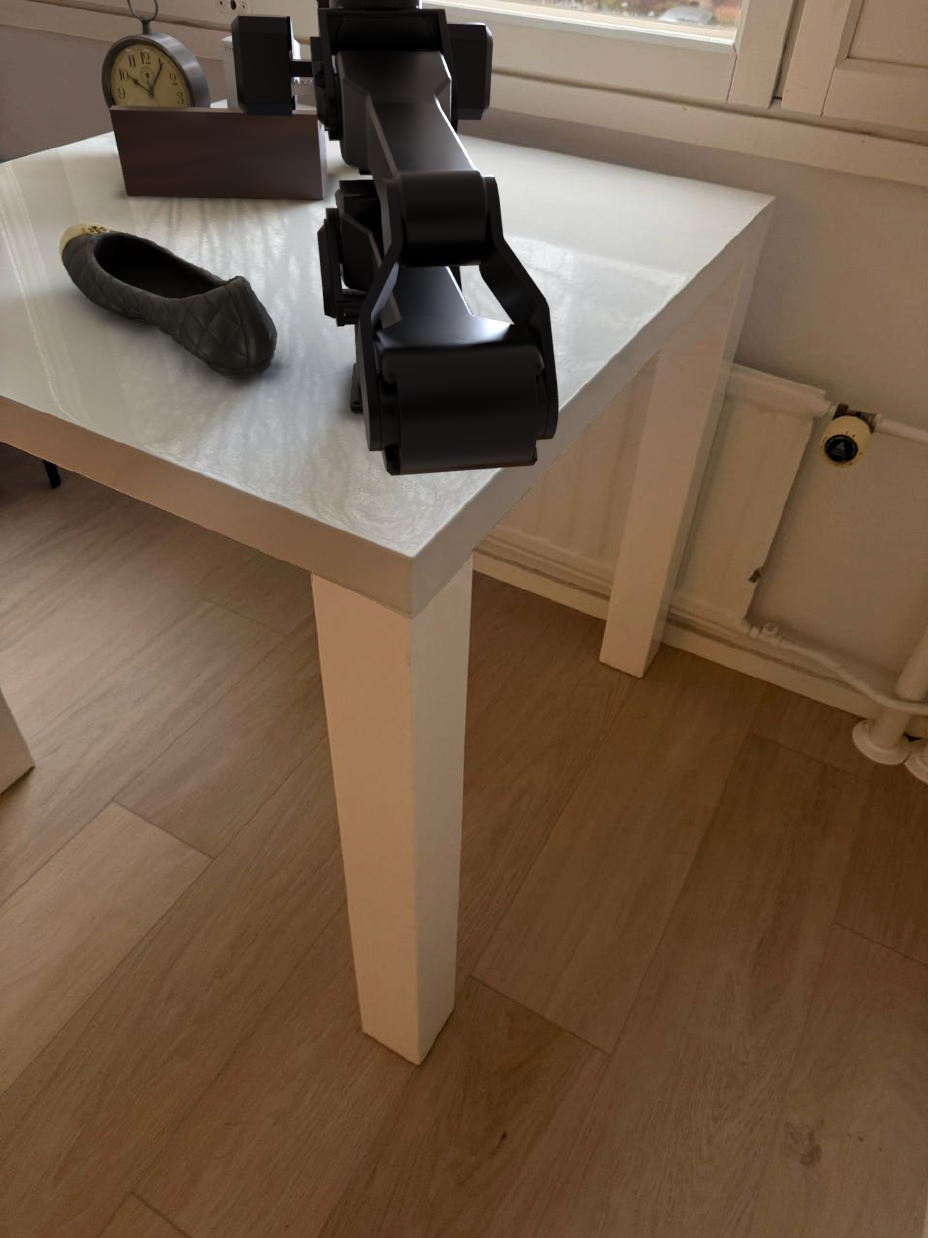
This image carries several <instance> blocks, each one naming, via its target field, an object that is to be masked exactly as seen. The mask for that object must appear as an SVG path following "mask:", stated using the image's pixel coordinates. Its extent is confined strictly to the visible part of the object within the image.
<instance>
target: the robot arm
mask: <svg viewBox="0 0 928 1238" xmlns="http://www.w3.org/2000/svg"><path fill="white" fill-rule="evenodd" d="M315 1H316V3H317V8H316V11H317V12H316V13H317V26H318V27H317V28H318V29H317V30H318V35H317V36H309V50H310V58H308V59H307V58H301V44H300V43H299V42H298V41H297V40H296V39H295V37H294V31H293V30H294V29H293V24H292V17H291V16H290V15H281V14H266V13H242V12H241V13H237V14H236V16H234V18H233V19H232V21H231V22H230V33H231V36H232V46H233V56H234V67H235V78H236V89H237V100H238V107H239V108H240V109H241V110H242V111H243V112H244V113H245V114H246V115H247V116H290V117H293V111H292V110H297V103H298V97H299V96H301V97H303V96H307V97H314V101H315V110H316V112H317V119H318V120H319V121H320V122H321V123H322V124H323V126H324V131H325V132H327V136H328V137H327V138H328V141H329V142H339V150H340V155H341V158H342V160H343V162H344V164H345V165H346V166H347V167H349V168H351V169H355V170H357V172H358V175H359V176H362V177H363V176H364V177H365V176H371V177H372V179H370V178H369V179H368V178H365V179H339V180H338V183H339V187H338V188H337V189H336V191H335V192H334V200H335V201H334V202H335V206H336V207H325V218H323V222H322V223H323V224H322V225H321V227H320V228H318V230H317V231H316V237H317V248H318V261H319V269H320V280H321V292H322V293H321V294H322V304H323V305H322V306H323V315H324V316H326V317H329V318H331V319H332V320H334V319H335V323H336V327H337V328H343V327H345V326H353V328H354V330H353V331H354V348H355V349H354V350H355V362H354V363H353V366H352V375H351V386H350V398H349V409H350V411H352V412H355V413H363V422H364V423H363V424H364V432H365V440H366V445H367V451H368V452H369V453H371V452H381V457H382V462H383V466H384V469H385V472H387V473H388V474H389V475H390V476H391V477H396V476H397V477H398V476H409V475H410V476H411V475H425V474H436V473H437V474H439V473H452V472H453V473H454V472H463V471H464V472H465V471H480V470H493V469H505V468H506V469H507V468H520V467H534V465H535V464H536V463H537V462H538V460H539V459H538V458H539V457H538V448H537V441H544V440H545V441H546V440H553V439H554V437H555V434H557V433H556V432H557V428H558V422H559V412H560V411H559V410H560V405H559V404H560V402H559V387H558V377H557V367H556V357H555V351H554V350H555V348H554V340H553V339H554V337H553V329H552V321H551V319H552V318H551V309H550V305H549V302H548V299H547V298H546V297H545V295H544V294H543V292H542V291H541V290H540V288H539V287H538V285H537V284H536V282H535V281H534V280H533V278H532V276H531V275H530V273H529V272H528V271H527V269H526V268H525V267H524V265H523V264H522V262H521V260H520V259H519V257H518V256H517V255H516V252H514V251H513V249H512V247H511V246H510V245H509V243H508V242H507V240H506V239H505V236H504V227H503V219H502V218H503V217H502V207H501V199H500V193H499V186H498V183H497V179H496V177H495V176H494V175H493V174H483V173H482V172H481V171H480V170H479V168H476V166H475V165H474V163H473V161H472V160H471V158H470V155H469V154H468V153H467V151H466V149H465V147H464V146H463V144H462V142H461V141H460V138H459V137H458V135H457V133H458V128H459V126H458V125H459V121H482V120H483V118H484V117H485V116H486V115H487V113H488V112H489V109H490V105H491V91H492V90H491V89H492V72H493V71H492V70H493V55H494V54H493V51H494V40H493V39H494V38H493V34H492V32H491V31H490V29H489V27H488V26H487V24H485V23H484V22H483V23H482V22H478V21H477V22H472V21H453V20H452V21H449V20H447V14H446V13H447V12H446V8H441V7H439V8H438V7H437V8H431V7H429V8H425V7H422V3H423V2H422V0H315ZM302 78H311V81H310V82H309V79H306V80H305V82H304V80H303V79H302ZM475 266H476V267H477V266H478V271H479V275H480V277H481V279H482V280H483V282H484V283H485V285H486V286H487V288H488V289H489V291H490V292H491V293H492V296H494V298H495V299H496V301H497V302H498V303H499V305H500V306H501V308H502V309H503V311H504V312H505V314H506V315H507V316H508V317H509V319H510V321H511V322H512V323H509V322H504V321H500V320H495V319H490V318H485V317H480V316H476V315H474V313H473V311H472V309H471V307H470V305H469V304H468V300H467V299H466V297H465V295H464V294H463V286H462V285H463V284H462V275H461V267H475ZM343 284H344V286H345V288H343Z"/></svg>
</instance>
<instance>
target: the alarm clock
mask: <svg viewBox="0 0 928 1238" xmlns="http://www.w3.org/2000/svg"><path fill="white" fill-rule="evenodd" d="M126 2H127V5H128V8H129V10H130V11H131V13H132V14H133V15H134V17H135V18H136V19H138V20H140V23H141V26H142V28H141V29H142V31H141V33H137V34H132V35H126V36H124V37H121V38H119V39H118V40H116V41H115V42H113V44H112V45H111V46H110V47H109V49H108V50H107V52H106V54H105V56H104V59H103V63H102V67H101V89H102V94H103V97H104V101H105V105H106V107H107V109H108V111H109V109H110V108H111V107H112V106H113V105H115V106H157V107H198V108H211V107H212V106H211V104H212V103H211V93H210V87H209V83H208V79H207V77H206V75H205V72H204V69H203V68H202V66H201V65H200V63H199V62H198V60H197V58H196V57H195V56H194V54H193V53H192V52H191V51H190V50H189V49H188V47H187V46H185V45H184V44H183V43H182V42H181V41H180V40H178V39H176V38H175V37H173V36H171V35H168V34H166V33H162V32H160V31H159V32H158V31H152V28H151V22H153V21H154V20H156V19H157V16H158V14H159V3H158V2H159V1H158V0H153V3H154V6H155V9H154V10H155V11H154V14H153V15H152V16H151V17H149V16H147V15H141V16H139V15H138V14H137V13H136V12H135V10H134V8H133V6H132V4H131V0H126ZM109 113H110V111H109Z"/></svg>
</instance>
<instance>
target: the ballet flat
mask: <svg viewBox="0 0 928 1238" xmlns="http://www.w3.org/2000/svg"><path fill="white" fill-rule="evenodd" d="M59 255H60V261H61V264H62V265H63V267H64V269H65V270H66V272H67V274H68V275H67V276H69V278H70V279H71V282H72V283H73V284H74V285H75V287H76V288H77V289H78V290H79V291H80V292H81V293H82V294H83V295H84V297H85V298H87V299H88V300H89V301H90V302H91V303H92V304H93V305H96V306H97V307H99V308H101V309H102V310H106V311H108V312H110V313H112V314H114V315H117V316H120V317H124V318H126V319H130V320H135V321H141V322H146V323H148V324H150V325H152V326H154V327H157V329H159V330H160V332H162V333H163V334H164V335H166V336H168V337H170V338H171V339H172V341H174V342H175V343H176V344H178V345H179V346H180V347H182V348H183V349H184V350H185V351H186V352H189V353H190V354H191V355H192V356H193V357H195V358H197V359H199V360H200V361H202V362H203V363H205V364H206V365H207V367H208V368H209V369H210V370H211V371H213V372H214V373H216V374H218V375H221V376H223V377H229V378H247V377H251V376H255V375H258V374H260V373H263V372H265V371H266V370H268V368H269V367H271V365H272V362H273V361H272V360H273V359H274V358H275V351H276V347H277V342H278V332H277V327H276V325H275V321H274V320H273V318H272V317H271V315H270V314H269V313H268V310H267V309H266V307H265V305H264V304H263V302H261V301H260V299H259V298H258V296H257V294H256V292H255V291H254V290H253V288H252V285H251V283H250V281H249V280H248V279H247V278H246V277H245V276H243V275H240V274H239V275H237V274H236V275H235V276H234V277H231V278H228V280H225V279H223V278H221V277H220V276H218V275H217V274H213V273H212V272H211V271H209V270H208V269H205V268H203V267H201V266H197V265H196V264H194V263H192V262H189V261H187V260H186V259H184V258H183V257H180V256H178V255H176V254H175V253H174V252H173V251H171V250H170V249H168V248H167V247H164V246H162V245H160V244H158V243H157V242H155V241H153V240H152V239H149V238H146V237H141V236H139V235H136V234H132V233H130V232H124V231H122V230H118V229H116V228H114V227H110V226H107V225H104V224H100V223H96V222H86V221H85V222H77V223H74V224H72V225H71V226H69V227H68V228H66V230H64V232H63V234H62V236H61V237H60V242H59Z"/></svg>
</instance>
